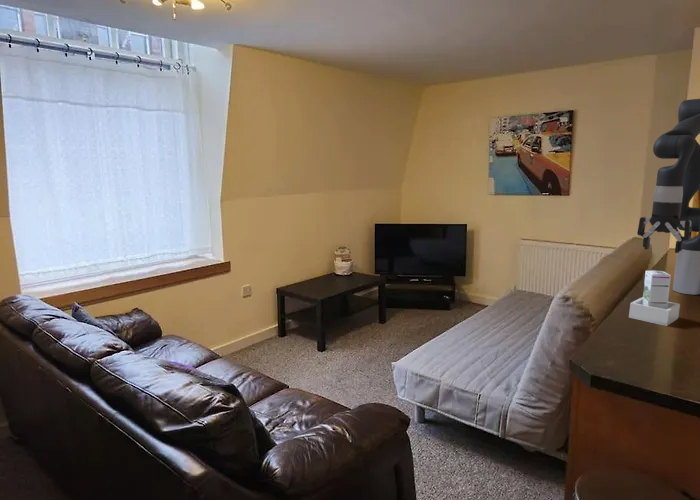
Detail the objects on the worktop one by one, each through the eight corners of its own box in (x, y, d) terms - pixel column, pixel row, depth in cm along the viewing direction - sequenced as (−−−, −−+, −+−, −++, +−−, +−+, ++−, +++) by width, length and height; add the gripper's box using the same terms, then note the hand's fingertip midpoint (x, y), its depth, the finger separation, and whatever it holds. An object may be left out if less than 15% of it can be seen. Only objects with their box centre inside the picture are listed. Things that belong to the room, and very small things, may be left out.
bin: (641, 310, 163) (642, 296, 162) (678, 318, 154) (680, 303, 153) (628, 317, 156) (630, 303, 155) (666, 326, 147) (668, 310, 146)
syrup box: (667, 318, 152) (672, 274, 149) (646, 317, 153) (651, 273, 150) (659, 312, 157) (664, 270, 154) (640, 311, 158) (645, 269, 156)
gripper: (698, 201, 145) (691, 252, 148) (646, 198, 155) (641, 246, 158) (690, 202, 140) (683, 255, 143) (638, 199, 150) (632, 249, 154)
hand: (661, 250), depth 151 cm, fingers open, 8 cm apart
